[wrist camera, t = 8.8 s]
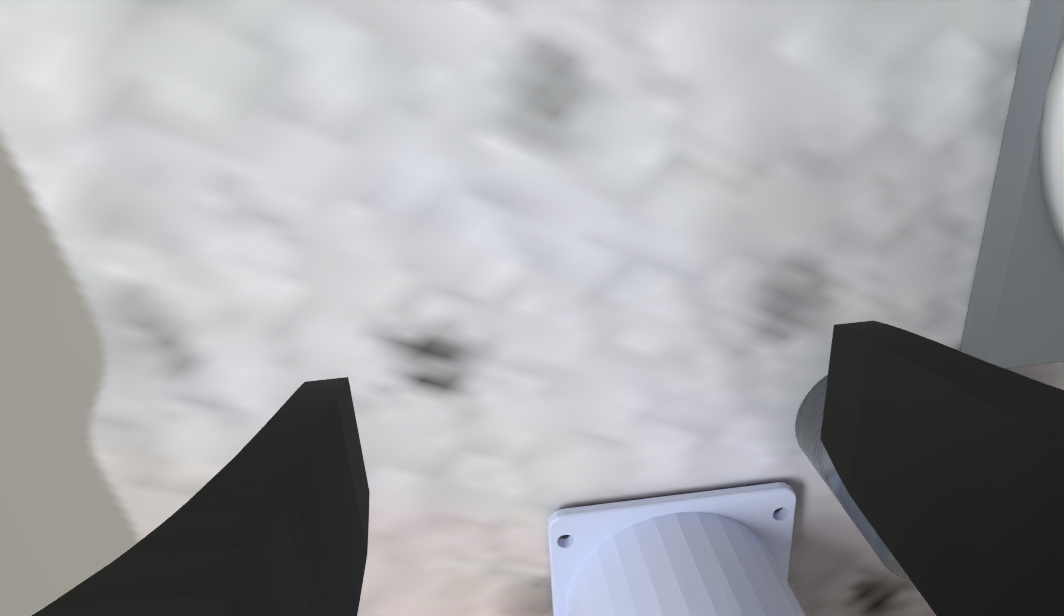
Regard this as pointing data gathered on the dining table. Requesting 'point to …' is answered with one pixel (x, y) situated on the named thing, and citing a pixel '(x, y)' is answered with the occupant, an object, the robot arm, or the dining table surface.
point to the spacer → (816, 453)
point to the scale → (1026, 213)
